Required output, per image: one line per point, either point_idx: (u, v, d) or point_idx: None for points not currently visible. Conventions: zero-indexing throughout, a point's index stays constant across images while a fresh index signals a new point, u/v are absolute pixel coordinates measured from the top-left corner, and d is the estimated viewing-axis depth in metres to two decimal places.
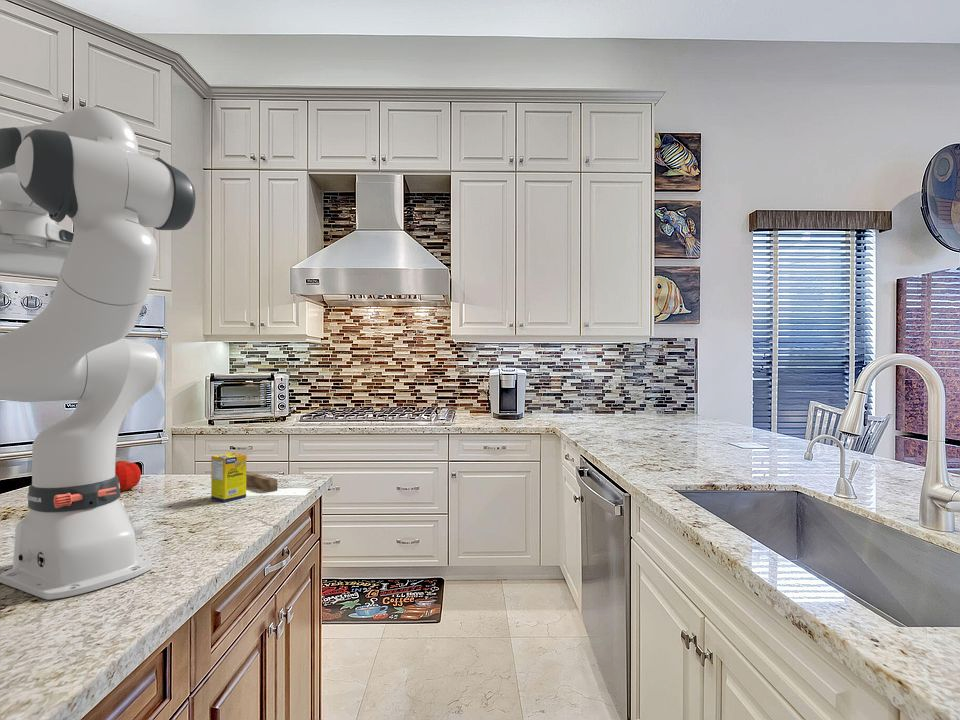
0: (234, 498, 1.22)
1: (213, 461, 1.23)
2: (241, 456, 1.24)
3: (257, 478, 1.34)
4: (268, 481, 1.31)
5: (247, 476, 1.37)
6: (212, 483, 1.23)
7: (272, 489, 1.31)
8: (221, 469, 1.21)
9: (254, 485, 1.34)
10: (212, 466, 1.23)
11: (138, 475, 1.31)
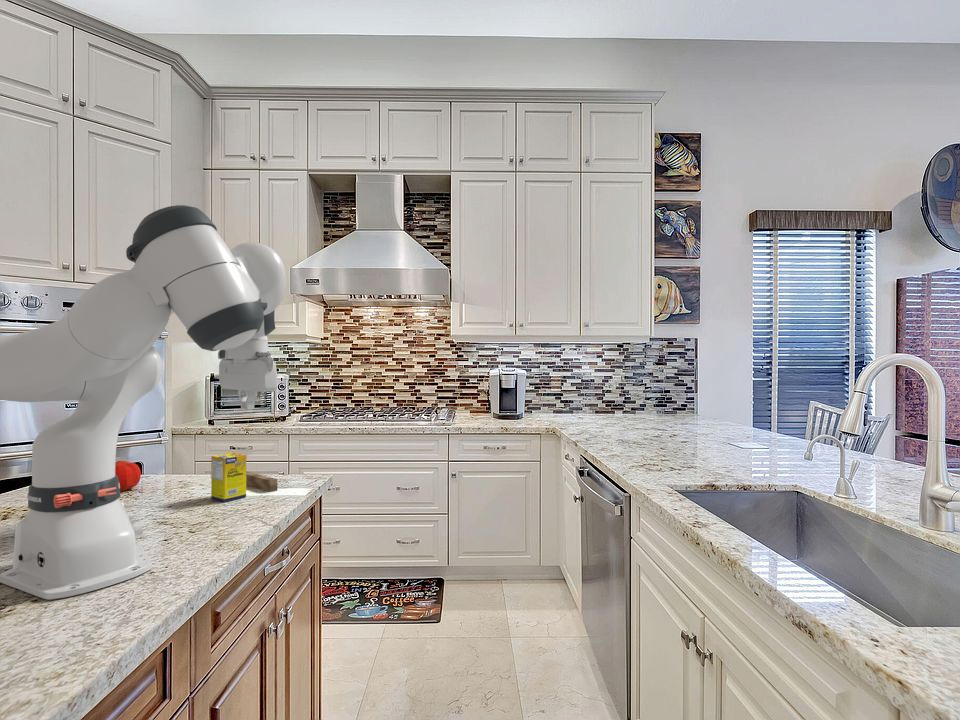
0: (234, 498, 1.22)
1: (213, 461, 1.23)
2: (241, 456, 1.24)
3: (257, 478, 1.34)
4: (268, 481, 1.31)
5: (247, 476, 1.37)
6: (212, 483, 1.23)
7: (272, 489, 1.31)
8: (221, 469, 1.21)
9: (254, 485, 1.34)
10: (212, 466, 1.23)
11: (138, 475, 1.31)
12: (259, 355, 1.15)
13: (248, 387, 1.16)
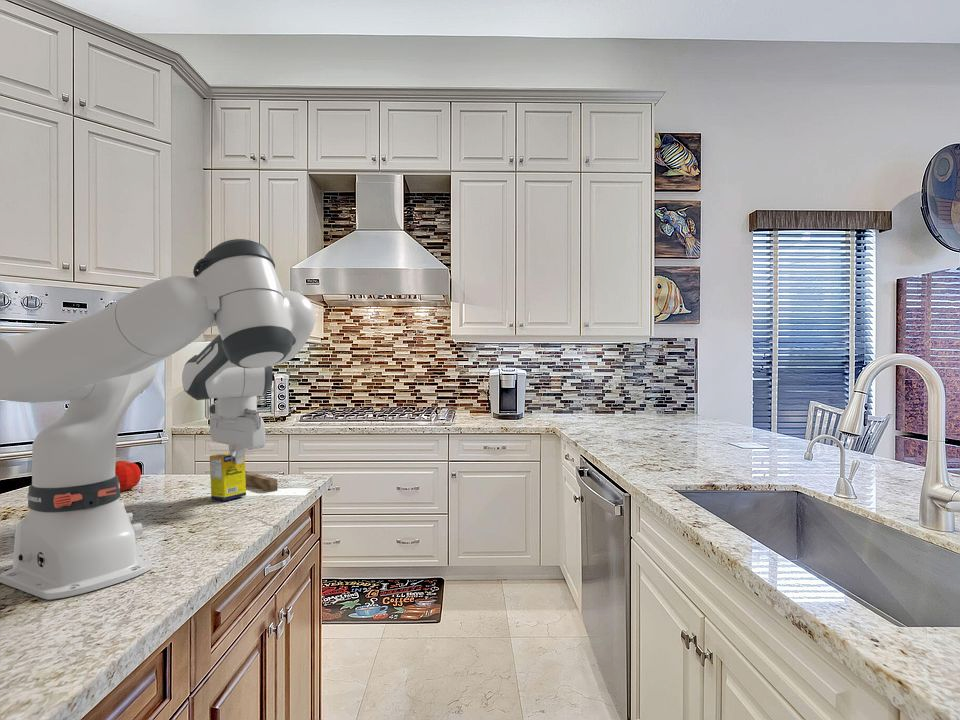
0: (234, 496, 1.22)
1: (211, 460, 1.23)
2: None
3: (257, 478, 1.34)
4: (268, 481, 1.31)
5: (247, 476, 1.37)
6: (211, 483, 1.23)
7: (272, 489, 1.31)
8: (220, 467, 1.21)
9: (254, 485, 1.34)
10: (211, 466, 1.23)
11: (138, 475, 1.31)
12: (248, 412, 1.18)
13: (237, 443, 1.19)
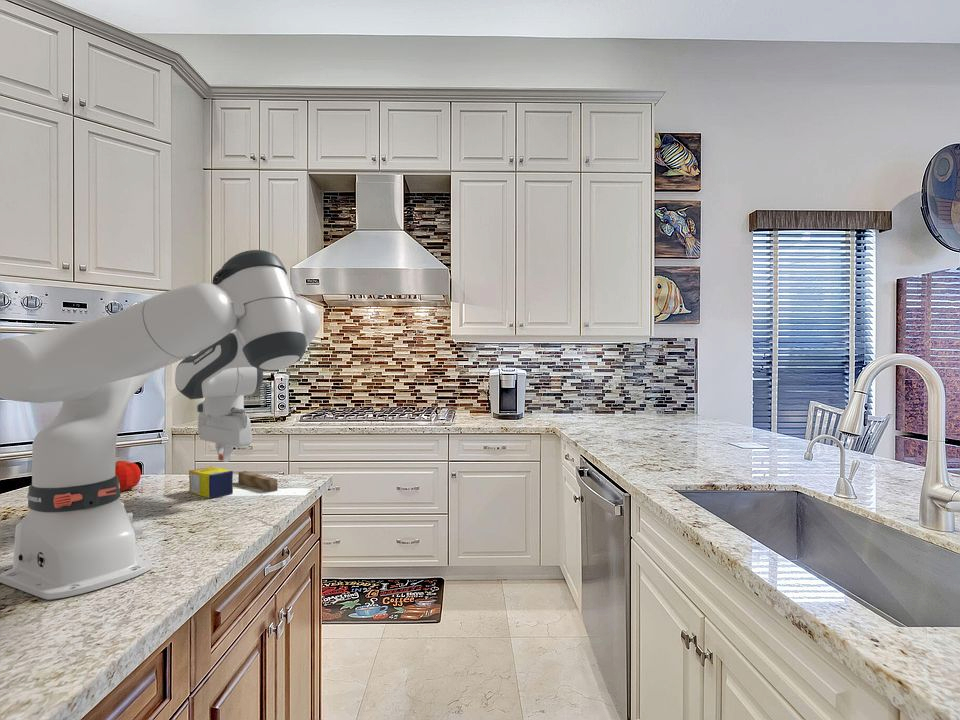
0: (220, 473, 1.26)
1: (191, 489, 1.28)
2: (206, 467, 1.33)
3: (257, 478, 1.34)
4: (268, 481, 1.31)
5: (247, 476, 1.37)
6: (202, 493, 1.25)
7: (272, 489, 1.31)
8: (194, 475, 1.27)
9: (254, 485, 1.34)
10: (193, 491, 1.28)
11: (138, 475, 1.31)
12: (234, 411, 1.22)
13: (224, 441, 1.22)
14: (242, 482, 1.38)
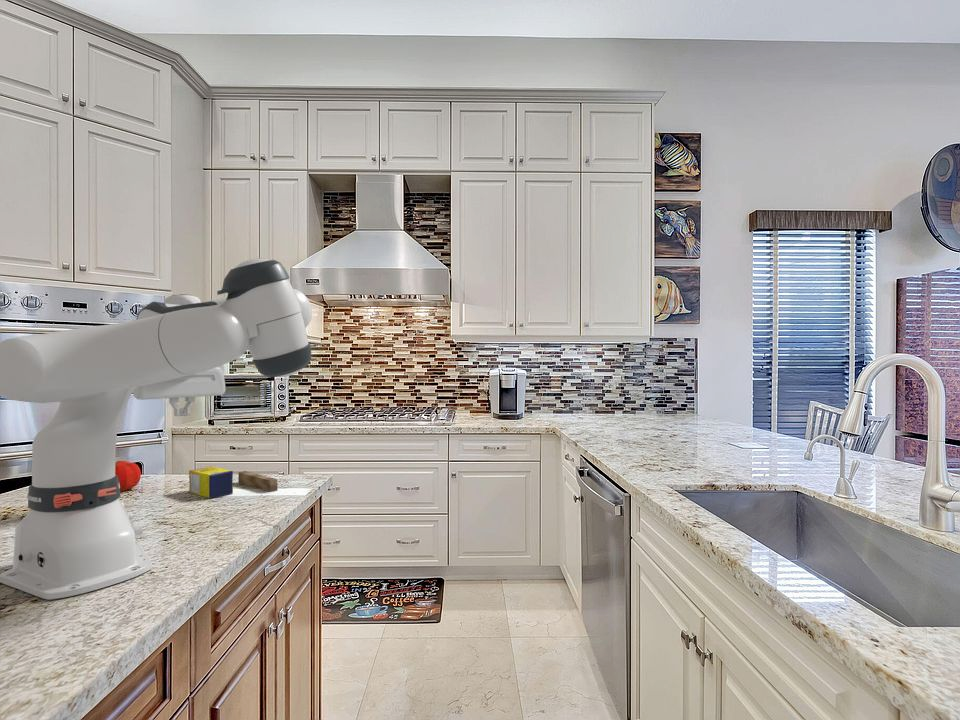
0: (220, 473, 1.26)
1: (191, 489, 1.28)
2: (206, 467, 1.33)
3: (257, 478, 1.34)
4: (268, 481, 1.31)
5: (247, 476, 1.37)
6: (202, 493, 1.25)
7: (272, 489, 1.31)
8: (194, 475, 1.27)
9: (254, 485, 1.34)
10: (193, 491, 1.28)
11: (138, 475, 1.31)
12: None
13: (200, 393, 1.24)
14: (242, 482, 1.38)
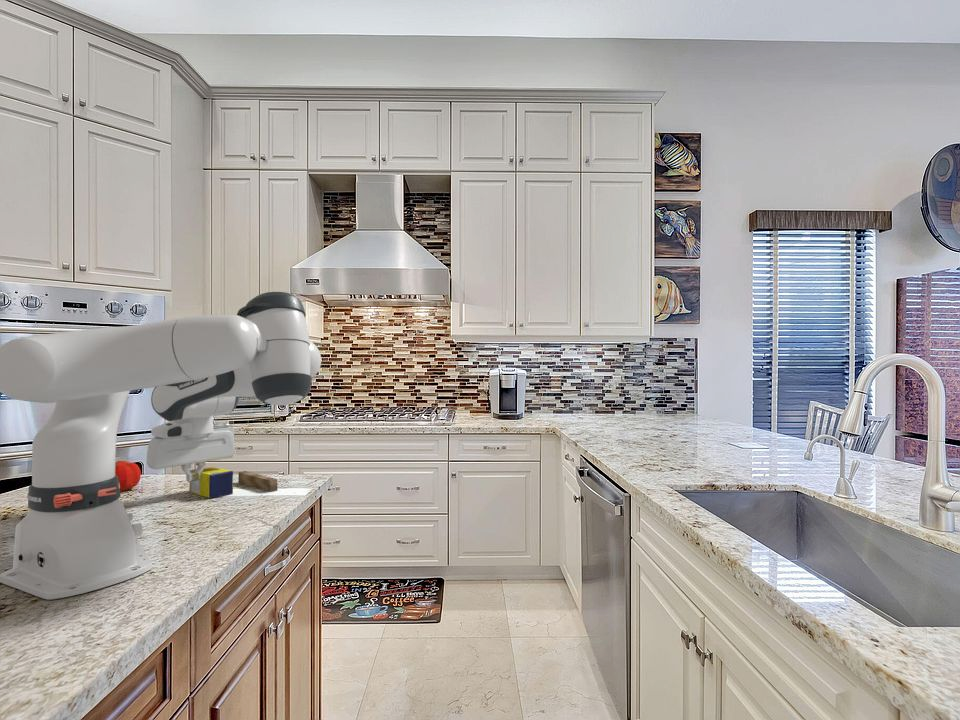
0: (220, 473, 1.26)
1: (191, 489, 1.28)
2: (206, 467, 1.33)
3: (257, 478, 1.34)
4: (268, 481, 1.31)
5: (247, 476, 1.37)
6: (202, 493, 1.25)
7: (272, 489, 1.31)
8: None
9: (254, 485, 1.34)
10: (193, 491, 1.28)
11: (138, 475, 1.31)
12: (218, 427, 1.30)
13: (211, 457, 1.27)
14: (242, 482, 1.38)
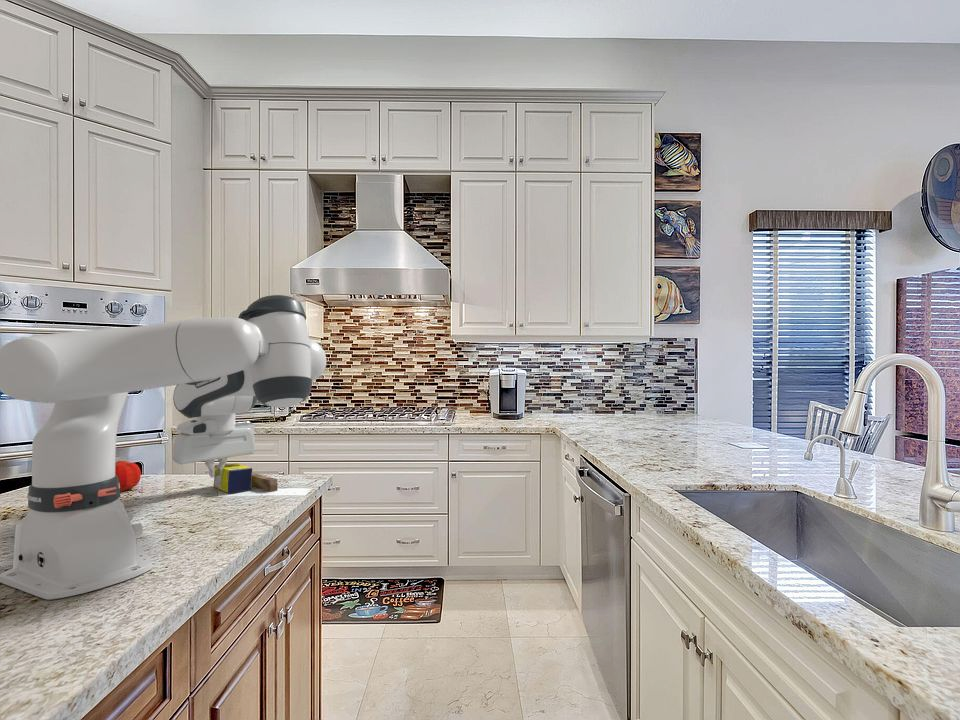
0: (239, 469, 1.30)
1: (215, 483, 1.34)
2: (231, 463, 1.38)
3: (257, 478, 1.34)
4: (268, 481, 1.31)
5: None
6: (222, 488, 1.30)
7: (272, 489, 1.31)
8: None
9: (254, 485, 1.34)
10: (216, 485, 1.33)
11: (138, 475, 1.31)
12: (239, 424, 1.35)
13: (232, 454, 1.32)
14: None
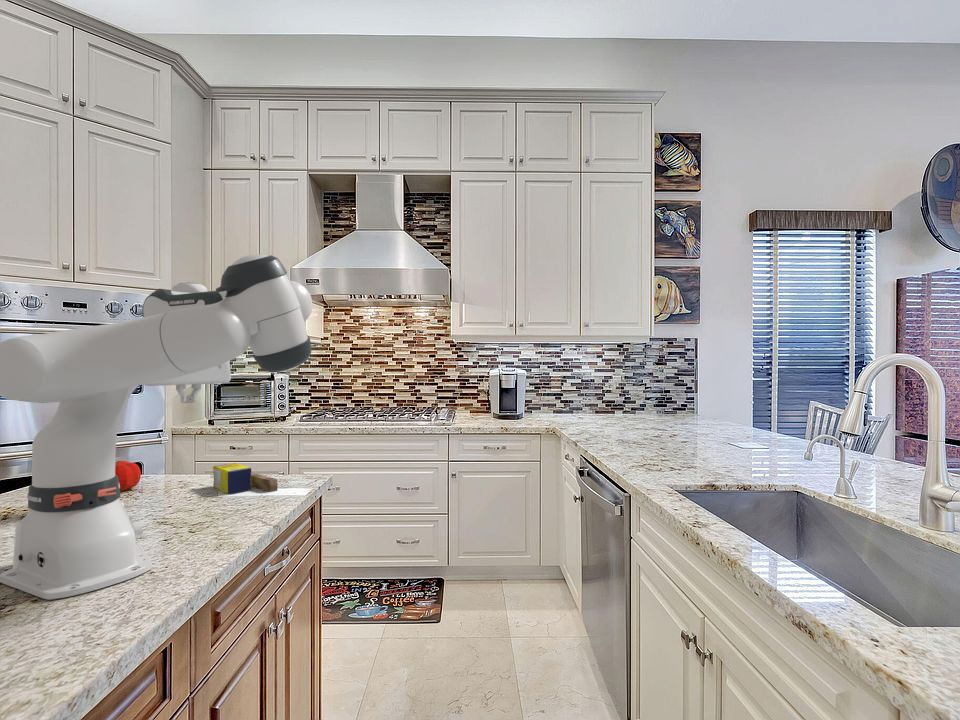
0: (238, 469, 1.29)
1: (214, 484, 1.34)
2: None
3: (257, 478, 1.34)
4: (268, 481, 1.31)
5: None
6: (222, 489, 1.30)
7: (272, 489, 1.31)
8: (217, 471, 1.33)
9: (254, 485, 1.34)
10: (216, 486, 1.33)
11: (138, 475, 1.31)
12: None
13: (206, 380, 1.26)
14: None
